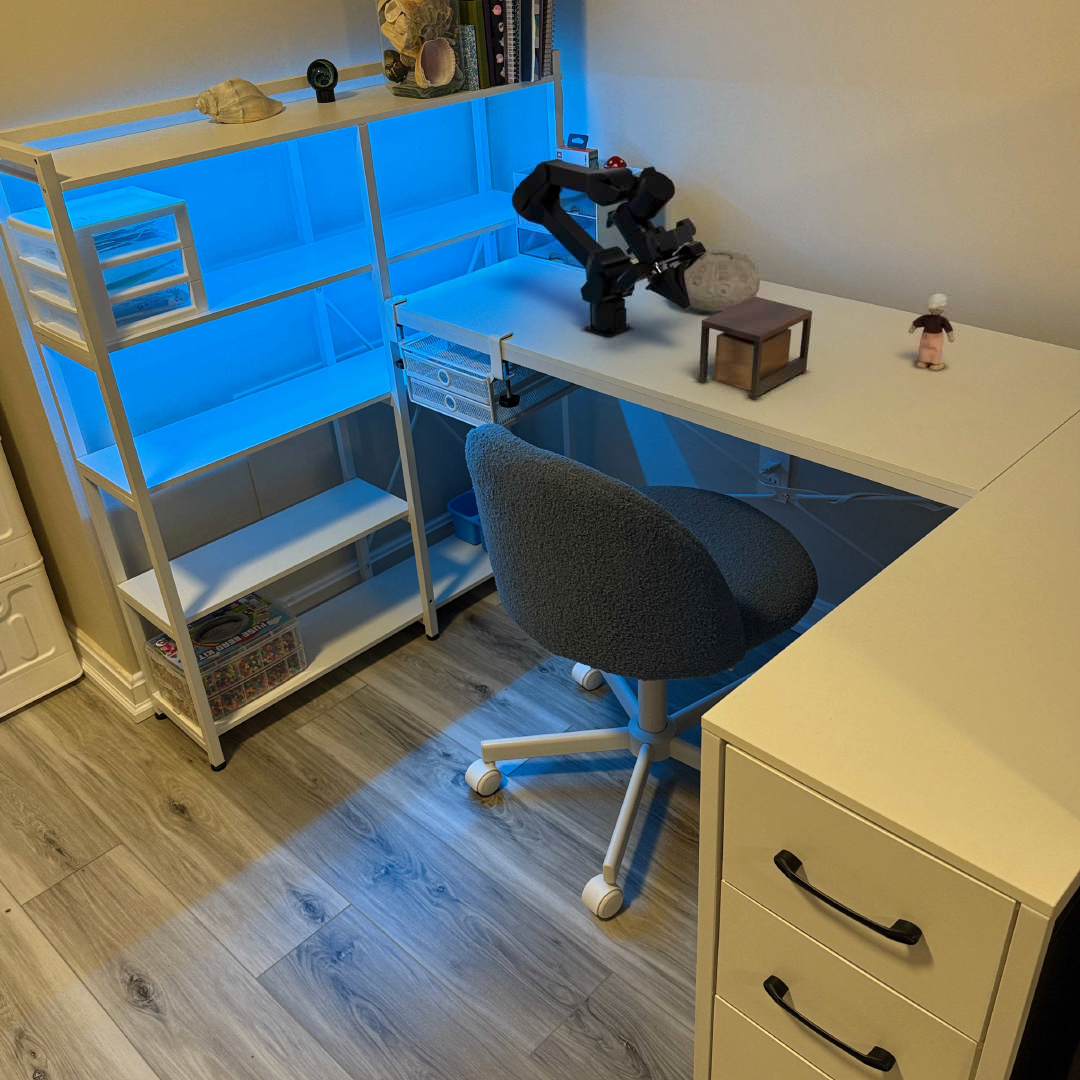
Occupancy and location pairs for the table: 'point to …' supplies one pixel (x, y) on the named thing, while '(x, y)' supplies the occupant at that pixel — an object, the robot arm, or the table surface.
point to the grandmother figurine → (932, 332)
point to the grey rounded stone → (721, 280)
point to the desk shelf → (759, 337)
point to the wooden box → (748, 357)
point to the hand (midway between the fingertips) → (687, 307)
